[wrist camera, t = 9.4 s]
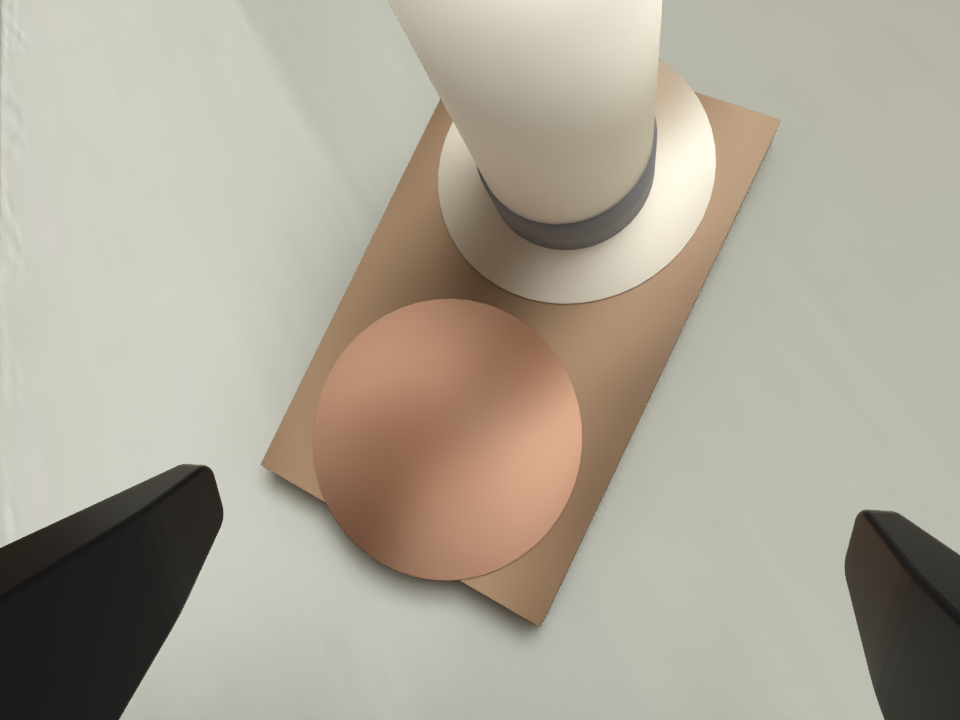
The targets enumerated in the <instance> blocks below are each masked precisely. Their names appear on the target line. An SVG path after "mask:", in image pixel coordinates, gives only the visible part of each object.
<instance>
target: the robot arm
mask: <svg viewBox="0 0 960 720" xmlns="http://www.w3.org/2000/svg"><path fill="white" fill-rule="evenodd" d="M222 521H223V506H222V502H221V499H220V495H219V491H218V488H217V484H216V480H215V477H214V473H213V471H212V470H211V469H210V468H209V467H208V466H205V465H194V464H182V465H179V466H176V467H174V468H172V469H170V470H168V471H166V472H163V473H161V474H159V475H157V476H155V477H153V478H150V479H148V480H146V481H144V482H142V483H140V484H138V485H135V486H133V487H131V488H129V489H127V490H125V491H122V492H120V493H118V494H116V495H114V496H112V497H109V498H107V499H105V500H103V501H101V502H99V503H97V504H94V505H92V506H90V507H88V508H86V509H84V510H81V511H79V512H77V513H75V514H73V515H71V516H68V517H66V518H64V519H62V520H60V521H58V522H56V523H53V524H51V525H49V526H47V527H45V528H43V529H40V530H38V531H36V532H34V533H32V534H30V535H27V536H25V537H23V538H21V539H19V540H17V541H14V542H12V543H10V544H8V545H6V546H4V547H2V548H0V720H119V719H120V717H121V715H122V713H123V712H124V710H125V708H126V707H127V705H128V703H129V701H130V700H131V698H132V696H133V695H134V693H135V691H136V690H137V688H138V686H139V684H140V683H141V681H142V679H143V678H144V676H145V674H146V672H147V671H148V669H149V667H150V666H151V664H152V662H153V661H154V659H155V657H156V655H157V654H158V652H159V650H160V649H161V647H162V645H163V643H164V642H165V640H166V638H167V637H168V635H169V633H170V631H171V630H172V628H173V626H174V624H175V622H176V621H177V619H178V617H179V615H180V613H181V611H182V609H183V607H184V605H185V603H186V601H187V599H188V597H189V595H190V593H191V590H192V588H193V586H194V584H195V582H196V580H197V577H198V575H199V573H200V571H201V569H202V566H203V564H204V562H205V560H206V558H207V556H208V553H209V551H210V549H211V547H212V545H213V543H214V540H215V538H216V536H217V534H218V532H219V529H220V527H221V525H222ZM845 576H846V581H847V585H848V589H849V593H850V597H851V601H852V605H853V609H854V613H855V617H856V621H857V625H858V629H859V633H860V637H861V641H862V645H863V649H864V653H865V657H866V661H867V665H868V669H869V673H870V677H871V680H872V684H873V688H874V691H875V694H876V697H877V700H878V703H879V706H880V709H881V711H882V714H883V717H884V719H885V720H960V555H959V554H958V553H956V552H955V551H953V550H952V549H950V548H949V547H947V546H946V545H944V544H943V543H941V542H940V541H939V540H937V539H936V538H934V537H933V536H931V535H930V534H928V533H927V532H925V531H924V530H922V529H921V528H920V527H918V526H917V525H915V524H914V523H912V522H911V521H909V520H908V519H906V518H905V517H903V516H902V515H900V514H899V513H896V512H893V511H880V510H863V511H861V512H859V514H858V515H857V517H856V519H855V523H854V527H853V530H852V534H851V538H850V542H849V546H848V550H847V554H846V558H845Z"/></svg>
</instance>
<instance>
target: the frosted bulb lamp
mask: <svg viewBox="0 0 960 720" xmlns="http://www.w3.org/2000/svg"><path fill="white" fill-rule="evenodd" d="M388 2H389V4H390V6H391V8H392V9H393V11H394V13H395V15H396V17H397V19H398V21H399V22H400V24H401V26H402V28H403V30H404V32H405V34H406V35H407V37H408V39H409V41H410V43H411V45H412V46H413V48H414V50H415V52H416V54H417V56H418V58H419V59H420V61H421V63H422V65H423V67H424V69H425V71H426V72H427V74H428V76H429V78H430V80H431V82H432V83H433V85H434V87H435V89H436V91H437V93H438V95H439V96H440V98H441V100H442V102H443V104H444V106H445V108H446V109H447V111H448V113H449V115H450V117H451V119H452V121H453V122H454V124H455V126H456V128H457V130H458V132H459V133H460V135H461V137H462V139H463V141H464V143H465V145H466V146H467V148H468V150H469V152H470V154H471V156H472V158H473V159H474V161H475V163H476V165H477V170H478V173H479V176H480V179H481V181H482V183H483V185H484V187H485V189H486V191H487V193H488V195H489V196H490V198H491V200H492V202H493V204H494V205H495V207H496V209H497V211H498V213H499V214H500V216H501V217H502V219H503V220H504V222H505V223H506V224H507V225H508V226H509V227H510V228H511V229H512V230H513V231H514V232H515V233H517V234H518V235H519V236H520V237H522V238H524V239H525V240H527V241H529V242H531V243H533V244H536V245H538V246H542V247H545V248H549V249H556V250H575V249H582V248H586V247H591V246H594V245H596V244H599V243H602V242H604V241H606V240H608V239H610V238H611V237H613V236H615V235H616V234H618V233H619V232H620V231H622V230H623V229H624V228H625V227H626V226H627V225H629V224H630V223H631V222H632V220H633V219H634V218H635V217H636V216H637V215H638V213H639V212H640V210H641V209H642V207H643V206H644V204H645V202H646V200H647V198H648V196H649V193H650V191H651V188H652V184H653V179H654V173H655V161H656V148H657V122H656V117H655V105H656V89H657V74H658V59H659V44H660V28H661V13H662V0H388Z"/></svg>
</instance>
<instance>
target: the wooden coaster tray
mask: <svg viewBox="0 0 960 720" xmlns="http://www.w3.org/2000/svg"><path fill="white" fill-rule="evenodd" d="M655 117H656V122H657V148H656V161H655V173H654V179H653V184H652V188H651V191H650V193H649V196H648V198H647V200H646V202H645V204H644V206H643V207H642V209H641V210H640V212H639V213H638V215H637V216H636V217H635V218H634V219H633V220H632V222H631V223H630V224H629V225H627V226H626V227H625V228H624V229H623V230H622V231H620V232H619V233H618V234H616V235H615V236H613V237H611V238H610V239H608V240H606V241H604V242H602V243H599V244H596V245H594V246H591V247H586V248H582V249H575V250H556V249H549V248H545V247H542V246H538V245H536V244H533V243H531V242H529V241H527V240H525V239H524V238H522V237H520V236H519V235H518V234H517V233H515V232H514V231H513V230H512V229H511V228H510V227H509V226H508V225H507V224H506V223H505V222H504V220H503V219H502V217H501V216H500V214H499V213H498V211H497V209H496V207H495V205H494V204H493V202H492V200H491V198H490V196H489V195H488V193H487V191H486V189H485V187H484V185H483V183H482V181H481V179H480V176H479V173H478V170H477V165H476V163H475V161H474V159H473V158H472V156H471V154H470V152H469V150H468V148H467V146H466V145H465V143H464V141H463V139H462V137H461V135H460V133H459V132H458V130H457V128H456V126H455V124H454V122H453V121H452V119H451V117H450V115H449V113H448V111H447V109H446V108H445V106H444V104H443V102H442V100H441V99H440V101H439V103H438V105H437V107H436V109H435V111H434V113H433V115H432V117H431V119H430V121H429V123H428V125H427V127H426V130H425V132H424V134H423V136H422V138H421V140H420V142H419V144H418V146H417V148H416V150H415V152H414V154H413V156H412V158H411V160H410V162H409V164H408V166H407V168H406V170H405V172H404V174H403V176H402V178H401V180H400V182H399V184H398V186H397V188H396V190H395V193H394V195H393V197H392V199H391V201H390V203H389V205H388V207H387V209H386V211H385V213H384V215H383V217H382V219H381V221H380V223H379V225H378V227H377V229H376V231H375V233H374V235H373V237H372V239H371V241H370V243H369V245H368V247H367V249H366V251H365V254H364V256H363V258H362V260H361V262H360V264H359V266H358V268H357V270H356V272H355V274H354V276H353V278H352V280H351V282H350V284H349V286H348V288H347V290H346V292H345V294H344V296H343V298H342V300H341V302H340V304H339V306H338V308H337V310H336V312H335V315H334V317H333V319H332V321H331V323H330V325H329V327H328V329H327V331H326V333H325V335H324V337H323V339H322V341H321V343H320V345H319V347H318V349H317V351H316V353H315V355H314V357H313V359H312V361H311V363H310V365H309V367H308V369H307V371H306V373H305V376H304V378H303V380H302V382H301V384H300V386H299V388H298V390H297V392H296V394H295V396H294V398H293V400H292V402H291V404H290V406H289V408H288V410H287V412H286V414H285V416H284V418H283V420H282V422H281V424H280V426H279V428H278V430H277V432H276V434H275V437H274V439H273V441H272V443H271V445H270V447H269V449H268V451H267V453H266V455H265V457H264V459H263V461H262V463H261V465H262V466H263V467H265V468H267V469H269V470H270V471H272V472H274V473H276V474H277V475H279V476H281V477H282V478H284V479H286V480H288V481H289V482H291V483H293V484H294V485H296V486H298V487H300V488H301V489H303V490H305V491H307V492H308V493H310V494H312V495H313V496H315V497H317V498H319V499H320V500H322V501H324V502H325V503H327V505H328V507H329V509H330V511H331V513H332V515H333V516H334V518H335V519H336V521H337V522H338V524H339V525H340V527H341V528H342V529H343V530H344V532H345V533H346V534H347V535H348V536H349V538H350V539H351V540H352V541H353V542H354V543H355V544H356V545H358V546H359V547H360V548H361V549H362V550H363V551H364V552H365V553H367V554H368V555H370V556H371V557H373V558H374V559H376V560H377V561H378V562H380V563H382V564H384V565H386V566H388V567H390V568H392V569H394V570H396V571H399V572H402V573H405V574H408V575H411V576H414V577H420V578H425V579H430V580H460V581H461V582H463V583H465V584H467V585H468V586H470V587H472V588H473V589H475V590H477V591H479V592H480V593H482V594H484V595H486V596H487V597H489V598H491V599H492V600H494V601H496V602H498V603H499V604H501V605H503V606H504V607H506V608H508V609H510V610H511V611H513V612H515V613H517V614H518V615H520V616H522V617H523V618H525V619H527V620H529V621H530V622H532V623H534V624H535V625H537V626H539V627H540V626H541V625H542V623H543V621H544V619H545V617H546V615H547V613H548V611H549V609H550V607H551V605H552V602H553V600H554V598H555V596H556V594H557V592H558V590H559V588H560V586H561V584H562V581H563V579H564V577H565V575H566V573H567V571H568V569H569V567H570V565H571V562H572V560H573V558H574V556H575V554H576V552H577V550H578V548H579V546H580V544H581V541H582V539H583V537H584V535H585V533H586V531H587V529H588V527H589V525H590V523H591V520H592V518H593V516H594V514H595V512H596V510H597V508H598V506H599V504H600V501H601V499H602V497H603V495H604V493H605V491H606V489H607V487H608V485H609V483H610V480H611V478H612V476H613V474H614V472H615V470H616V468H617V466H618V464H619V462H620V459H621V457H622V455H623V453H624V451H625V449H626V447H627V445H628V443H629V440H630V438H631V436H632V434H633V432H634V430H635V428H636V426H637V424H638V422H639V419H640V417H641V415H642V413H643V411H644V409H645V407H646V405H647V403H648V400H649V398H650V396H651V394H652V392H653V390H654V388H655V386H656V384H657V382H658V379H659V377H660V375H661V373H662V371H663V369H664V367H665V365H666V363H667V361H668V358H669V356H670V354H671V352H672V350H673V348H674V346H675V344H676V342H677V339H678V337H679V335H680V333H681V331H682V329H683V327H684V325H685V323H686V321H687V318H688V316H689V314H690V312H691V310H692V308H693V306H694V304H695V302H696V299H697V297H698V295H699V293H700V291H701V289H702V287H703V285H704V283H705V281H706V278H707V276H708V274H709V272H710V270H711V268H712V266H713V264H714V262H715V260H716V257H717V255H718V253H719V251H720V249H721V247H722V245H723V243H724V241H725V238H726V236H727V234H728V232H729V230H730V228H731V226H732V224H733V222H734V220H735V217H736V215H737V213H738V211H739V209H740V207H741V205H742V203H743V201H744V199H745V196H746V194H747V192H748V190H749V188H750V186H751V184H752V182H753V180H754V177H755V175H756V173H757V171H758V169H759V167H760V165H761V163H762V161H763V159H764V156H765V154H766V152H767V150H768V148H769V146H770V144H771V142H772V140H773V137H774V135H775V133H776V131H777V128H778V126H779V124H780V121H781V120H780V119H777V118H774V117H771V116H768V115H764V114H761V113H758V112H755V111H752V110H749V109H746V108H743V107H740V106H736V105H733V104H730V103H727V102H724V101H721V100H718V99H715V98H712V97H708V96H705V95H702V94H699V93H696V92H693V90H692V89H691V88H690V86H689V85H688V83H687V82H686V81H685V80H684V79H683V78H682V77H681V76H680V75H679V74H678V73H677V72H676V71H674V70H673V69H672V68H670V67H669V66H668V65H666V64H665V63H664V62H662V61H661V60H659V59H658V74H657V89H656V105H655Z"/></svg>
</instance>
